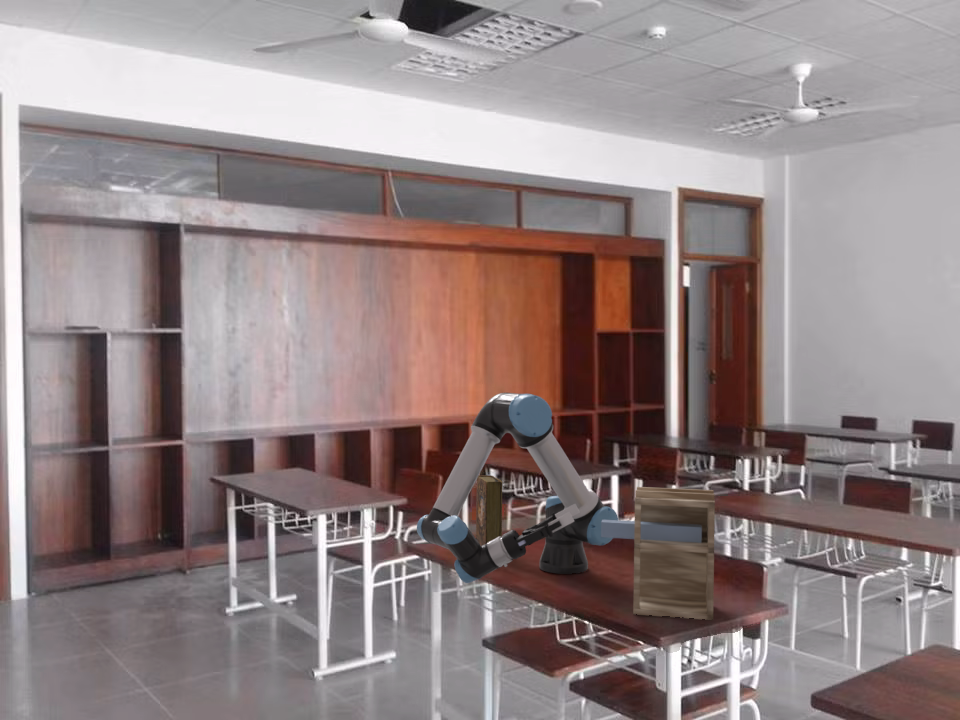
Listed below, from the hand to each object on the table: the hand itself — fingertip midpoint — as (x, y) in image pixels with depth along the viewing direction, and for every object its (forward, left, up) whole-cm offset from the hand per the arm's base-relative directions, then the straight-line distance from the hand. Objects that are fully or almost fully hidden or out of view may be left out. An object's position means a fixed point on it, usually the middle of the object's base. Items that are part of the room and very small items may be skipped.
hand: (574, 512), depth 242 cm
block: (0, +20, -6) cm, 21 cm away
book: (-55, -36, -25) cm, 70 cm away
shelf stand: (0, +26, -24) cm, 36 cm away
